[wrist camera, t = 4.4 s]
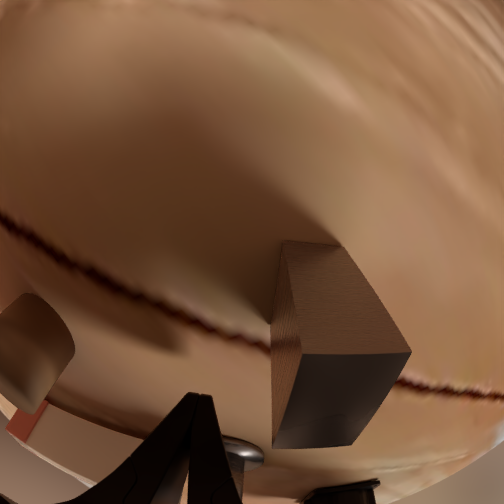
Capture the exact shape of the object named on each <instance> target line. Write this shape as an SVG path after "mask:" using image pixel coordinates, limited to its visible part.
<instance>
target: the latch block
mask: <svg viewBox="0 0 504 504" xmlns="http://www.w3.org/2000/svg"><path fill="white" fill-rule="evenodd" d="M270 333H271V388H272V449H307V448H327V447H339V446H349V445H352V444H353V442H354V441H355V440H356V439H357V437H358V436H359V435H360V433H361V432H362V431H363V429H364V428H365V427H366V425H367V424H368V423H369V421H370V420H371V418H372V417H373V416H374V414H375V413H376V411H377V410H378V408H379V407H380V405H381V404H382V402H383V401H384V399H385V398H386V396H387V395H388V393H389V391H390V390H391V388H392V386H393V385H394V383H395V382H396V380H397V378H398V376H399V375H400V373H401V371H402V369H403V368H404V366H405V364H406V362H407V360H408V359H409V357H410V355H411V353H412V351H411V349H410V347H409V346H408V344H407V342H406V341H405V339H404V337H403V336H402V334H401V332H400V331H399V329H398V327H397V326H396V324H395V322H394V321H393V319H392V318H391V316H390V314H389V313H388V311H387V310H386V308H385V307H384V305H383V303H382V302H381V300H380V299H379V297H378V296H377V294H376V293H375V291H374V290H373V288H372V287H371V285H370V284H369V282H368V281H367V279H366V278H365V276H364V275H363V273H362V272H361V271H360V269H359V268H358V266H357V265H356V263H355V262H354V261H353V259H352V258H351V256H350V255H349V254H348V252H347V251H346V249H345V248H344V247H341V246H331V245H322V244H312V243H303V242H293V241H283V243H282V251H281V258H280V265H279V272H278V279H277V286H276V293H275V300H274V306H273V313H272V319H271V326H270Z"/></svg>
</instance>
